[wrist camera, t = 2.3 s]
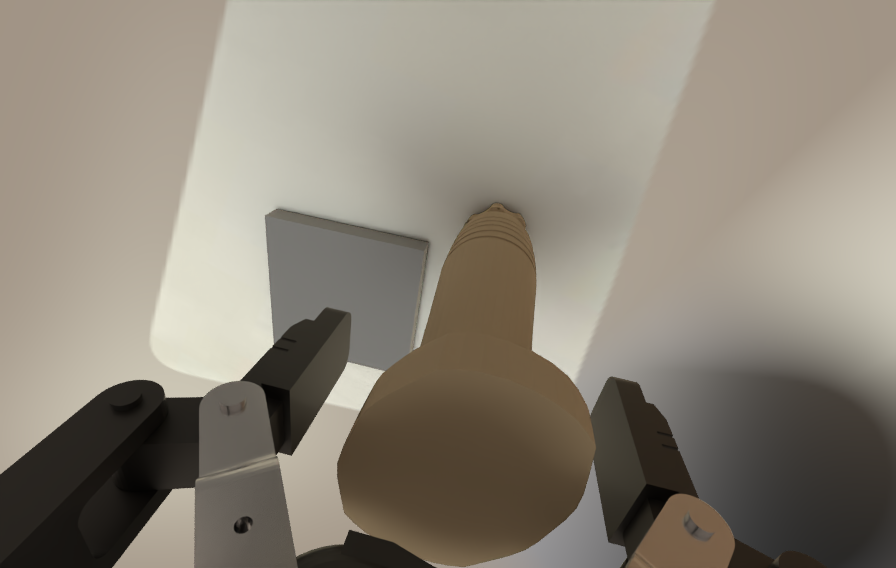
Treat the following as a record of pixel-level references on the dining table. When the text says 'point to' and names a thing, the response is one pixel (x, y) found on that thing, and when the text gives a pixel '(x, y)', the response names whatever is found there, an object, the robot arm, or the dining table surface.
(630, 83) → the dining table surface
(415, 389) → the handle
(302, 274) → the plate
